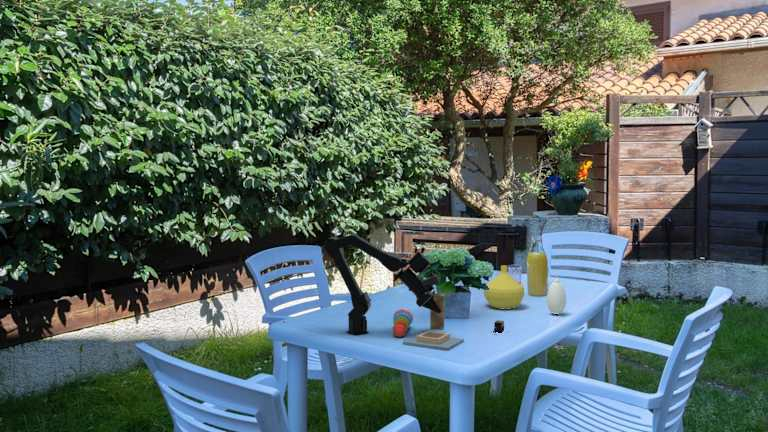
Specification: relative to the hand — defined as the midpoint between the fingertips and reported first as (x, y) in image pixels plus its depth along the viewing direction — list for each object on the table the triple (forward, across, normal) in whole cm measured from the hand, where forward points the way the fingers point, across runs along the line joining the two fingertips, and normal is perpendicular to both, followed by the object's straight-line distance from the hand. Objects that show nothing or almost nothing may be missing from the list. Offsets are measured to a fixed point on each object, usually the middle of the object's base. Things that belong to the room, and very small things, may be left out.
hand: (441, 310), depth 258 cm
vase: (+25, +55, -11) cm, 62 cm away
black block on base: (+23, +8, -9) cm, 26 cm away
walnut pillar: (+4, 0, +6) cm, 7 cm away
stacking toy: (-7, +12, +15) cm, 21 cm away
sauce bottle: (+40, +42, -27) cm, 64 cm away
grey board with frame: (+5, -12, +8) cm, 15 cm away
